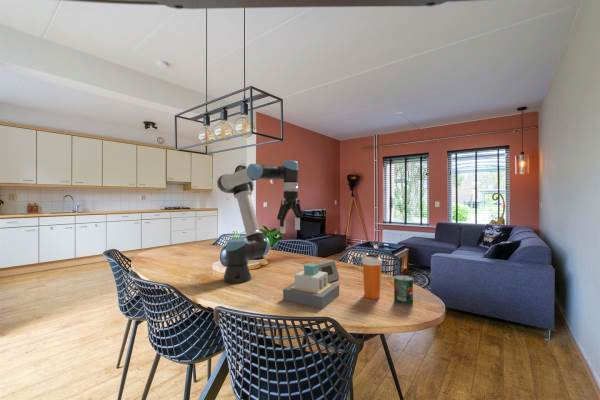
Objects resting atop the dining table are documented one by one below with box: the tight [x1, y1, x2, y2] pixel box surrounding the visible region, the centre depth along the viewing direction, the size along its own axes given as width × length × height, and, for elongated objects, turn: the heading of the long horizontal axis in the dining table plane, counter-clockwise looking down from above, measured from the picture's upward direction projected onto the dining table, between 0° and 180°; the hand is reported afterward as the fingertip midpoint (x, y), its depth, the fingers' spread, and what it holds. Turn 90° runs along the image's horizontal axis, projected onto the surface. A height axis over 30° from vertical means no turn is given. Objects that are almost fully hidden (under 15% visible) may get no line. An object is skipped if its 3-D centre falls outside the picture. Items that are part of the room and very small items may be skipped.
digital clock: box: [318, 259, 340, 283], centre depth 149 cm, size 16×9×11 cm, turn 121°
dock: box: [282, 282, 340, 310], centre depth 126 cm, size 20×18×5 cm
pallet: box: [294, 269, 328, 292], centre depth 126 cm, size 12×10×6 cm
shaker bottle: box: [361, 252, 383, 300], centre depth 127 cm, size 9×9×20 cm
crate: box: [303, 262, 319, 276], centre depth 127 cm, size 5×5×4 cm
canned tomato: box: [393, 274, 414, 307], centre depth 120 cm, size 8×8×11 cm
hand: (290, 231), depth 142 cm, fingers open, 13 cm apart
